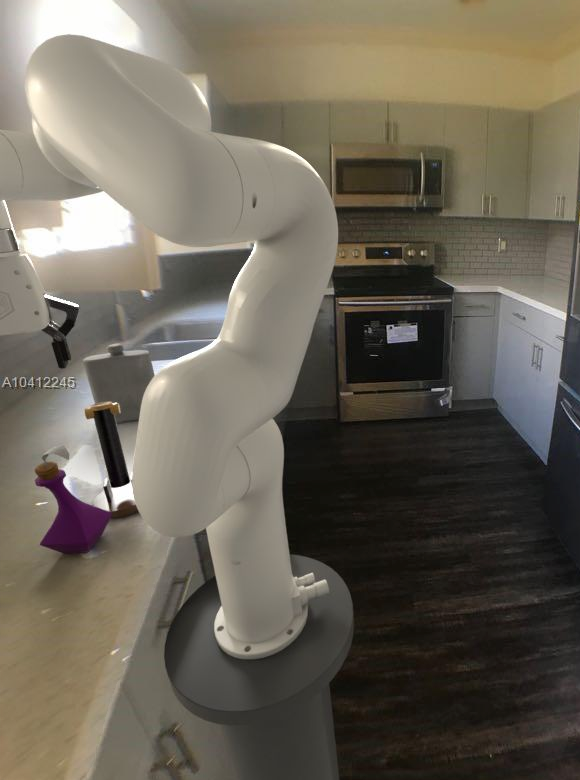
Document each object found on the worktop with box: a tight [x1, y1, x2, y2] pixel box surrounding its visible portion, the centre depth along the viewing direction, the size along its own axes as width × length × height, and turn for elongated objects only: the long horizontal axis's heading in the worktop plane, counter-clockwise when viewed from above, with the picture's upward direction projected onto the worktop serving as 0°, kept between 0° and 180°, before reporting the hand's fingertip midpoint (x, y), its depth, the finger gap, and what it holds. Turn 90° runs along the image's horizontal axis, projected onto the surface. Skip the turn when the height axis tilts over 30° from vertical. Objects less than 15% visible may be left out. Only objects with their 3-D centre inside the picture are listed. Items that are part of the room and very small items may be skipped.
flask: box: [82, 343, 156, 424], centre depth 118 cm, size 15×6×20 cm, turn 110°
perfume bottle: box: [34, 444, 112, 554], centre depth 72 cm, size 8×8×18 cm
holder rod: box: [84, 402, 131, 488], centre depth 83 cm, size 16×5×3 cm
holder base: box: [92, 472, 139, 519], centre depth 85 cm, size 10×10×5 cm
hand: (23, 371), depth 64 cm, fingers open, 9 cm apart
